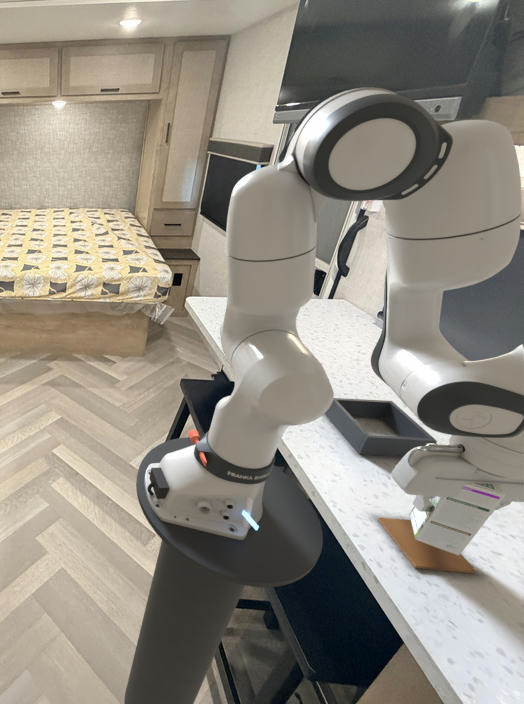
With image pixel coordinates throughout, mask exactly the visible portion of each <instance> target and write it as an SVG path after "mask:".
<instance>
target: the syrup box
mask: <svg viewBox="0 0 524 704" xmlns="http://www.w3.org/2000/svg"><path fill="white" fill-rule="evenodd" d="M504 497H505V493H504V492H503V490H502V488H501V486H500V485H493V484H482V483H468V484H465V485H464V486H463V487H462V489H461V490H460V492H459V494H458V495H457V496H456V497H437V496H435V497H434V498H433V499H429V501H430V502H432V503H433V504H434V508H433V509H431V510H432V511H431V512H424V511H418V510H417V508H416V507H415V506H414V505H413V507H412V509H411V511H410V512H409V514H408V517H409V520H410V521H411V525H412V529H413V533H414V537H415V539H416V540H418V541H421V542H423V543H426V544H428V545H431V546H434V547H436V548H439V549H442V550H445V551H447V552H450V553H453V554H456V555H460V554H461V555H462V553H463V551H464V550H465V549H466V547H467V546H468V545H469V544H470V542H471V541H472V540H473V539H474V537H475V536H476V535H477V533H479V531H480V530H481V528H482V527H483V526H484V525H485V523H486V521H488V519H489V518H490V517H491V516H492V514H493V513H494V512H495V511H496V510H495V509H496V507H497V506H498V505H499V503H500V502H501V501H502V499H503V498H504ZM494 510H495V511H494ZM493 511H494V512H493ZM492 512H493V513H492Z"/></svg>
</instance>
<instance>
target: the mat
mask: <svg viewBox="0 0 524 704" xmlns="http://www.w3.org/2000/svg"><path fill="white" fill-rule="evenodd" d="M377 521H378V522H379V523H380V524H381V526H382V528H383V529H384V530H385V531H386V532H387V534H388V535H389V536H390V538H391V539H392V540H393V542H394V543H395V544H396V547H398V548H399V549H400V550H399V551H401V552H402V554H403V555H404V556H405V557H406V559H407V560H408V561H409V563H410V564H411V565H412V567H413V568H414V569H421V570H422V569H423V570H433V571H443V572H444V571H445V572H457V573H467V574H476V573H477V570H476V569H475V568H474V566H472V565H471V563H469V560H467V559H466V558H465V557H464V556H463V554H462V553H461V554H460V555H456V554H453V553H450V552H447V551H445V550H442V549H439V548H436V547H434V546H431V545H428V544H426V543H423V542H421V541H418V540H416V539H415V537H414V533H413V529H412V525H411V521H410V519H404V518H403V519H402V518H392V517H391V518H389V517H378V518H377Z"/></svg>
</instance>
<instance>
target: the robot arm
mask: <svg viewBox="0 0 524 704" xmlns="http://www.w3.org/2000/svg"><path fill="white" fill-rule="evenodd" d="M521 179H522V178H521V171H520V165H519V159H518V153H517V149H516V146H515V143H514V139H513V136H512V133H511V131H510V130H509V129H508V128H507V127H505V126H504V125H503V124H501V123H498V122H496V121H492V120H486V119H463V120H457V121H451V122H448V123H447V122H446V123H444V124H440V123H439V122H438V121H437V120H436V119H435V118H434V117H433V116H432V114H431V113H430V112H429V111H427V110H426V108H425V107H424V106H422V105H421V104H420V103H419V102H416V101H415V100H414V99H411V98H409V97H407V96H404V95H401V94H397V93H396V92H394V91H392V90H389V89H386V88H383V87H382V88H381V87H350V88H345V89H341V90H338V91H336V92H333V93H330V94H329V95H327V96H325V97H323V98H321V99H320V100H319V101H318V102H316V103H315V104H314V105H312V106H311V107H310V108H309V109H308V111H306V112H305V113H304V114H303V116H302V118H300V120H299V122H298V123H297V125H295V128H294V129H293V132H292V133H291V135H290V137H289V139H288V141H287V142H286V144H285V145H284V147H283V149H282V150H281V152H280V153H279V156H278V163H276V164H272V165H267V166H263V167H260V168H257V169H255V170H253V171H250V172H249V173H247V174H246V175H244V176H243V177H241V179H239V180H238V181H237V182H236V184H235V185H234V186H233V189H232V191H231V194H230V200H229V204H228V210H227V218H226V230H225V260H226V261H225V263H226V288H227V289H226V290H227V293H226V297H227V298H226V307H225V312H224V317H223V321H222V323H221V324H220V329H219V336H220V345H221V350H222V352H223V354H224V356H225V358H226V360H227V362H228V364H229V366H230V367H231V369H232V372H233V378H234V387H233V390H232V392H231V394H230V395H227V396H224V397H222V398H221V399H220V400H219V401H218V402H217V403H216V405H215V407H214V408H215V409H214V412H213V416H212V420H211V423H210V427H209V430H208V431H207V432H205V433H204V435H202V437H201V436H200V433H199V431H198V430H197V429H190V430H188V432H187V435H188V437H190V441H191V442H192V443H195V445H192V446H189V447H187V448H184V449H181V450H178V451H175V452H171V453H168V454H166V455H165V456H164V457H163V458H162V460H161V462H160V463H153V464H150V465H149V466H148V468H147V470H146V473H145V479H144V482H145V490H146V494H147V498H148V501H149V503H150V506H151V508H152V509H153V511H154V512H155V514H156V515H157V516H158V517H159V518H160V519H161V520H162V521H164V522H168V523H172V524H176V525H180V526H184V527H188V528H192V529H197V530H201V531H205V532H209V533H213V534H217V535H221V536H225V537H229V538H233V539H237V540H243V539H245V537H246V535H247V533H248V530H249V529H250V528H251V527H252V526H253V527H254V529H255V530H258V527H259V526H258V525H257V524H256V523H258V522H259V520H260V519H261V517H262V513H263V508H262V496H263V489H264V485H265V480H267V479H268V477H269V476H270V473H271V471H272V468H273V465H274V466H275V462H276V452H277V449H278V447H279V445H280V442H281V441H282V438H283V435H284V433H285V431H286V430H287V429H288V427H291V426H292V427H293V426H302V425H306V424H309V423H312V422H314V421H316V420H318V419H319V418H321V417H322V416H323V415H325V412H326V411H327V410H328V409H329V408H330V406H331V404H332V402H333V398H335V397H334V395H335V393H334V389H333V386H332V384H331V382H330V379H329V376H328V374H327V372H326V370H325V367H324V366H323V364H322V363H321V362H320V360H318V358H317V357H316V356H315V355H314V354H313V353H312V352H311V350H310V349H309V348H308V347H307V346H306V345H305V343H304V342H303V340H302V339H301V337H300V335H299V333H298V332H299V331H298V329H297V319H298V315H299V312H300V310H301V308H303V307H304V306H305V305H307V304H308V303H309V302H310V300H311V299H312V297H313V296H314V289H315V288H314V287H315V273H316V258H317V257H316V256H317V254H316V253H317V240H318V239H317V237H318V230H317V229H318V221H319V217H320V214H321V211H322V209H323V207H324V205H326V203H327V201H328V200H329V199H332V200H335V201H341V202H368V201H382V205H383V208H384V225H385V229H384V230H385V231H384V232H385V245H386V259H387V262H386V263H387V264H386V270H385V276H384V293H383V313H382V314H383V316H382V317H383V318H382V328H381V329H382V330H381V333H380V336H379V338H378V340H377V342H376V344H375V346H374V348H373V350H372V353H371V356H370V366H371V369H372V371H373V372H374V374H375V375H376V376H377V378H379V379H380V380H381V381H382V382H383V383H384V384H386V385H387V386H388V387H389V388H390V389H391V390H392V392H393V393H394V394H395V395H396V396H397V397H398V398H399V399H400V401H401V402H402V403H403V404H404V405H405V406H406V407H407V408H408V409H409V410H410V412H411V413H412V414H413V415H414V416H415V417H416V419H418V420H419V421H420V422H421V423H422V424H423V426H425V427H427V428H429V429H430V430H433V431H434V432H437V433H440V434H441V433H442V434H445V435H450V438H449V440H448V443H444V444H441V443H436V444H435V443H428V444H425V446H420V447H416V448H413V449H412V450H410V451H409V452H408V453H407V454H406V455H405V456H404V457H401V459H400V460H399V461H398V463H397V464H396V465H395V467H394V468H393V469H392V470H391V473H390V475H391V478H392V480H393V481H394V482H395V483H396V485H397V486H398V487H399V488H400V489H401V490H402V491H403V492H404V493H405V494H407V495H411V496H415V497H414V499H413V500H412V505H413V507H414V506H415V507H416V508H417V510H418V511H424V512H431V511H432V510H431V509H433V508H434V504H433V503H432V502H430V501H429V499H433V498H434V497H435V496H437V497H456V496H457V495H458V494H459V492H460V490H461V489H462V487H463V486H464V485H465V484H468V483H482V484H493V485H500V486H501V488H502V490H503V492H504V493H505V497H504V498H503V499H502V501H501V502H500V503H499V505H498V506H497V507H496V509H495V510H494V511H493V512H492V514H493V513H494V512H495V511H497V510H500V509H503V508H504V507H507V506H509V505H511V503H512V502H513V503H524V343H522V344H520V345H518V346H517V347H515V348H514V349H513V350H511V351H509V352H507V353H504V354H501V355H498V356H494V357H490V358H485V359H480V360H469V359H468V358H466V356H464V355H463V354H461V353H460V352H459V351H458V350H456V349H455V348H454V347H453V346H452V345H451V343H449V342H448V340H446V338H445V337H444V336H443V333H442V332H441V329H440V320H441V312H442V305H443V297H444V296H443V295H444V291H451V290H457V289H462V288H466V287H470V286H473V285H476V284H479V283H481V282H484V281H486V280H488V279H490V278H493V276H495V275H497V274H498V273H500V272H501V271H502V270H503V269H505V268H506V267H507V266H508V265H510V263H511V262H512V259H513V257H514V255H515V252H516V251H517V248H518V245H519V241H520V235H521V222H522V199H523V198H522V195H523V194H522V180H521ZM149 474H150V475H149ZM156 506H158V507H156ZM230 530H232V531H233V532H232V531H230Z"/></svg>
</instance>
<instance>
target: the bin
mask: <svg viewBox="0 0 524 704" xmlns="http://www.w3.org/2000/svg"><path fill="white" fill-rule="evenodd" d="M324 415H325V416H326V418H327V419H328V420H329V421H330V422H331V423H332V424H333V426H334V427H335V428H336V430H338V432H339V433H340V434H341V436H343V437H344V439H345V440H346V441H347V442H348V443H349V445H350V446H351V447H352V448H353V449H354V450H355V451H356V452H357V454H358V455H365V456H366V455H369V456H380V457H381V456H382V457H383V456H384V457H399V458H403V457H404V456H405V455H406V454H407V453H408V452H409V451H410V450H412V449H413V448H416V447H420V446H425V444H428V443H435V444H438V441H437V439H435V438H434V437H433V436H432V435H431V434H429V433H428V431H427V430H426V429H424V428H423V427H422V426H421V425H420V424H419V423H417V421H416V420H414V419H413V418H412V417H410V415H409V414H408V413H406V412H405V411H404V410H403V409H402V408H400V407H399V405H397V404H396V403H395V402H394V401H393V400H385V399H384V400H381V399H363V398H362V399H360V398H344V397H343V398H342V397H341V398H340V397H333V402H332V404H331V406H330V408H329V409H328V410H327V411H326V412H325V413H324ZM355 418H365V419H380V420H381V419H382V420H383V421H384V422H385V423H386V424H387V425H388V426H389V427H390V428H391V429H392V430H393V431H394V432H395V433H396V434H397V435H398V436H391V435H375V434H369V433H368V432H367V431H366V430H365V428H364V427H363V426H361V424H360V423H359V422H358V421H357V420H356V419H355Z"/></svg>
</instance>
